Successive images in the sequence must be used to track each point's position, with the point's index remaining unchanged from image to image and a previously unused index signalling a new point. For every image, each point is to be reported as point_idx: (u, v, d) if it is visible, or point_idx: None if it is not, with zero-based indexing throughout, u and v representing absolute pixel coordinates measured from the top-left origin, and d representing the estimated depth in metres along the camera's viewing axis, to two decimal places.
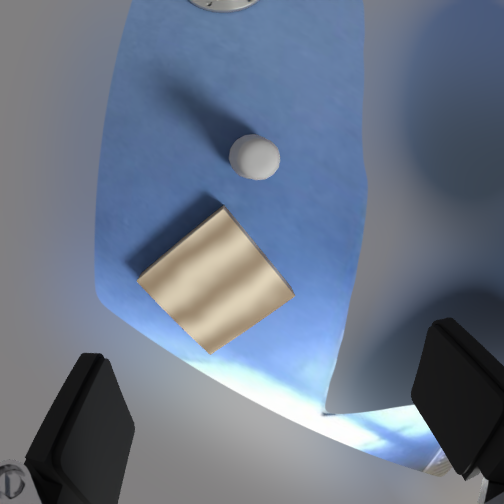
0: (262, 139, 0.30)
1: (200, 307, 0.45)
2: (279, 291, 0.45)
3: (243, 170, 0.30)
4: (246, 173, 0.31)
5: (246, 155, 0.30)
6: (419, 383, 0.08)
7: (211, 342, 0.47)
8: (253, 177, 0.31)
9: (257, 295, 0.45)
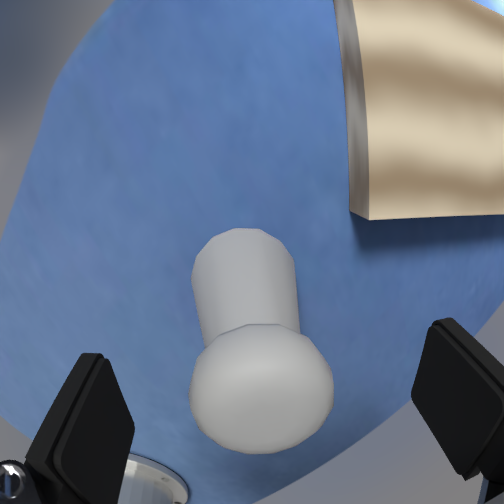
0: (219, 444, 0.09)
1: (500, 92, 0.15)
2: None
3: (330, 405, 0.08)
4: (330, 395, 0.08)
5: (293, 440, 0.08)
6: (419, 383, 0.08)
7: None
8: (321, 376, 0.08)
9: (414, 18, 0.13)
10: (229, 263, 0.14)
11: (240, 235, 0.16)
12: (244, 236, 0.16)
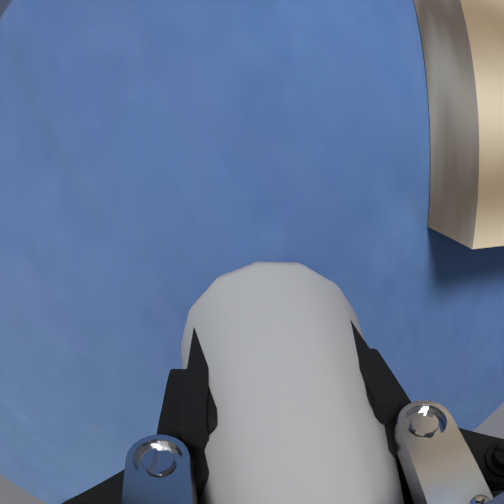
0: None
1: None
2: None
3: None
4: None
5: None
6: None
7: None
8: None
9: None
10: (254, 357, 0.06)
11: (270, 281, 0.09)
12: (278, 284, 0.08)
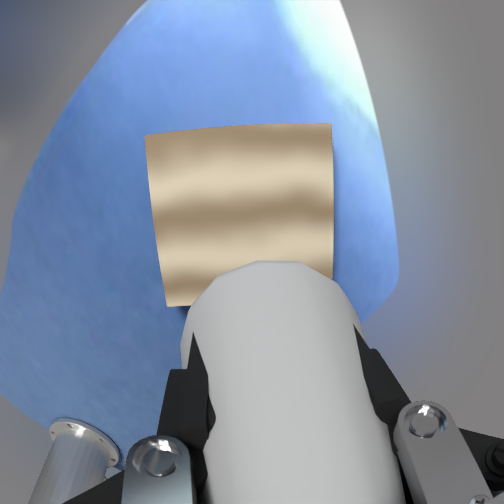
0: None
1: (283, 206, 0.28)
2: (160, 156, 0.26)
3: None
4: None
5: None
6: None
7: (313, 141, 0.26)
8: None
9: (195, 170, 0.26)
10: (254, 357, 0.06)
11: (270, 280, 0.08)
12: (278, 282, 0.08)
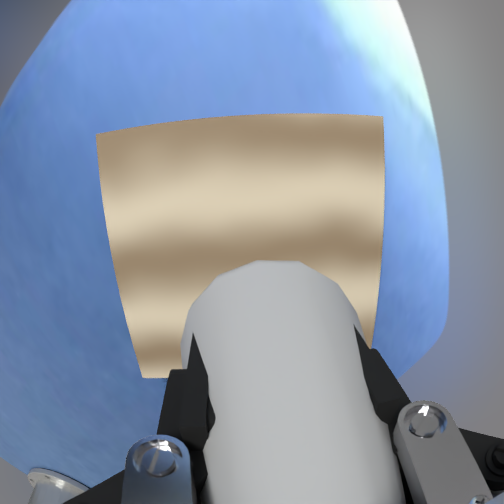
0: None
1: (311, 243, 0.18)
2: (119, 166, 0.16)
3: None
4: None
5: None
6: None
7: (357, 142, 0.16)
8: None
9: (172, 187, 0.17)
10: (255, 356, 0.06)
11: (270, 280, 0.08)
12: (278, 282, 0.08)
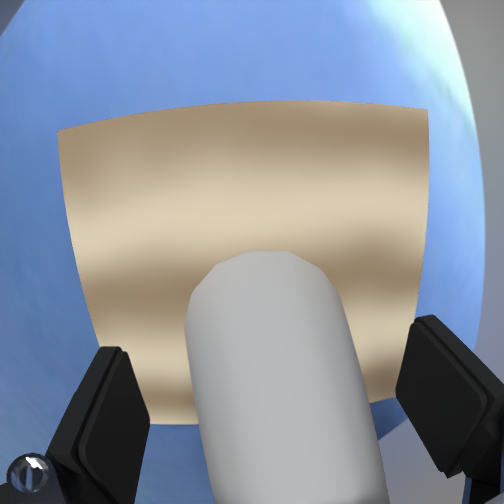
0: None
1: (337, 272, 0.14)
2: (86, 172, 0.12)
3: None
4: None
5: None
6: (402, 380, 0.09)
7: (398, 142, 0.12)
8: None
9: (154, 199, 0.12)
10: (248, 326, 0.08)
11: (262, 266, 0.10)
12: (269, 267, 0.10)
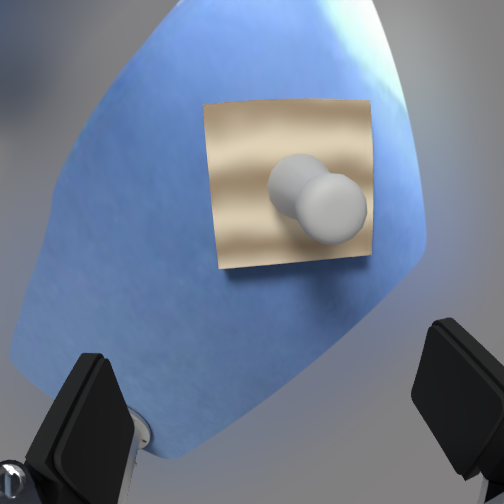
0: (312, 235, 0.18)
1: (330, 172, 0.30)
2: (218, 124, 0.28)
3: (366, 210, 0.18)
4: (365, 203, 0.18)
5: (350, 229, 0.18)
6: (419, 383, 0.08)
7: (355, 115, 0.28)
8: (360, 191, 0.18)
9: (251, 137, 0.28)
10: (299, 165, 0.24)
11: (300, 156, 0.26)
12: (302, 156, 0.26)
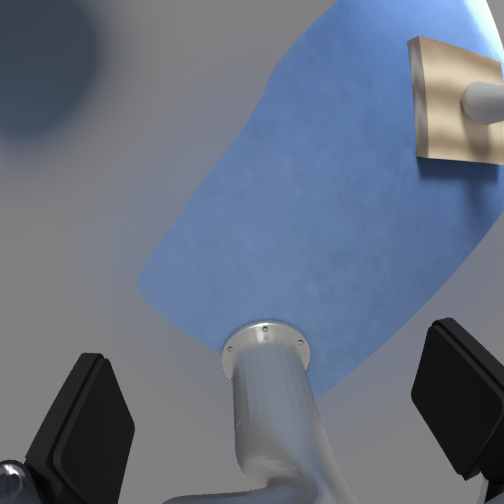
0: None
1: None
2: (428, 52, 0.29)
3: None
4: None
5: None
6: (419, 383, 0.08)
7: (495, 69, 0.30)
8: None
9: (447, 66, 0.30)
10: (493, 84, 0.25)
11: None
12: (485, 83, 0.27)
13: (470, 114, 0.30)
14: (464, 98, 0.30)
